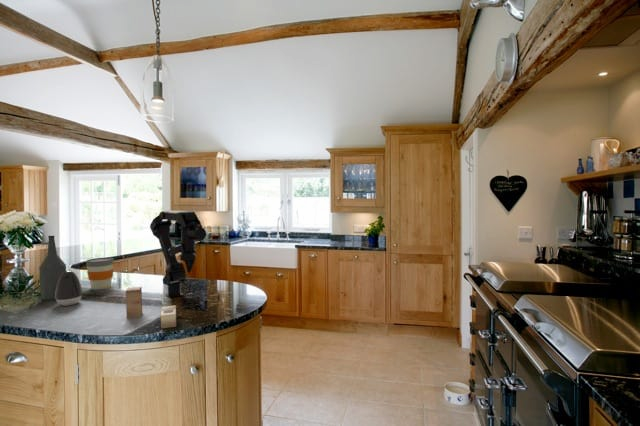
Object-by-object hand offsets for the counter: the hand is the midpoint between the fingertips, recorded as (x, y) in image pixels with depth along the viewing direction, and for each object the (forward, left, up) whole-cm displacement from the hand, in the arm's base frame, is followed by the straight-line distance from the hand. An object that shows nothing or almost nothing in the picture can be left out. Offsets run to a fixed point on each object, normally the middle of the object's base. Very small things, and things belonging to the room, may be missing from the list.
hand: (189, 272), depth 164 cm
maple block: (+17, -16, -11) cm, 26 cm away
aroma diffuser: (-34, -41, -13) cm, 55 cm away
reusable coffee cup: (-58, -23, -13) cm, 64 cm away
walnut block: (+4, -25, -13) cm, 28 cm away
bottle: (-53, -44, -13) cm, 70 cm away
